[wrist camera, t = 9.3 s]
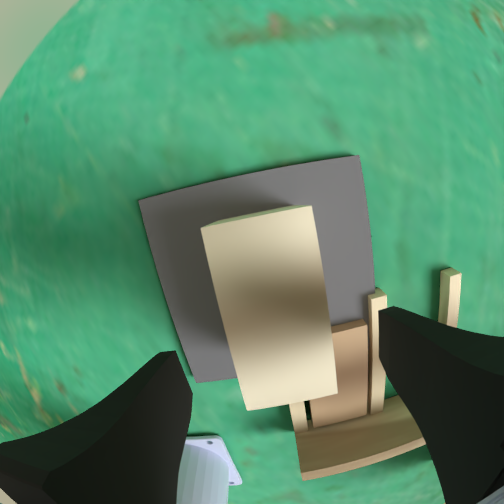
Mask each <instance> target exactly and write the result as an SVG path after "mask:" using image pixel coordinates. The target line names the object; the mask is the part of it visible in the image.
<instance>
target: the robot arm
mask: <svg viewBox="0 0 504 504" xmlns="http://www.w3.org/2000/svg"><path fill="white" fill-rule="evenodd" d="M378 322H379V359H380V361H381V364H382V366H383V368H384V370H385V373H386V375H387V377H388V379H389V380H390V382H391V384H392V385H393V387H394V388H395V390H396V392H397V393H398V395H399V396H400V398H401V399H402V401H403V402H404V404H405V406H406V407H407V409H408V410H409V412H410V413H411V415H412V417H413V418H414V420H415V422H416V423H417V425H418V427H419V429H420V431H421V433H422V436H423V438H424V440H425V443H426V445H427V447H428V450H429V452H430V455H431V458H432V460H433V463H434V466H435V468H436V471H437V474H438V478H439V481H440V484H441V487H442V491H443V495H444V499H445V503H446V504H504V337H497V336H490V335H484V334H479V333H474V332H470V331H466V330H462V329H459V328H455V327H452V326H449V325H446V324H443V323H440V322H437V321H434V320H431V319H429V318H426V317H423V316H421V315H418V314H415V313H413V312H410V311H407V310H405V309H402V308H398V307H395V306H392V307H389V308H385V309H382V310H378ZM192 396H193V393H192V390H191V388H190V386H189V383H188V381H187V378H186V376H185V374H184V371H183V369H182V366H181V363H180V361H179V358H178V356H177V353H176V351H167V352H160V353H158V354H157V355H155V356H154V357H153V358H152V359H151V360H149V361H148V362H147V363H146V364H145V365H144V366H143V367H141V368H140V369H139V370H138V371H137V372H136V373H135V374H133V375H132V376H131V377H130V378H129V379H128V380H127V381H125V382H124V383H123V384H122V385H121V386H119V387H118V388H117V389H116V390H114V391H113V392H112V393H111V394H109V395H108V396H107V397H105V398H104V399H103V400H101V401H100V402H99V403H97V404H96V405H94V406H93V407H91V408H89V409H88V410H86V411H85V412H83V413H81V414H80V415H78V416H76V417H74V418H72V419H70V420H68V421H66V422H64V423H62V424H60V425H58V426H56V427H54V428H51V429H49V430H46V431H44V432H41V433H38V434H35V435H32V436H29V437H25V438H21V439H17V440H13V441H8V442H3V443H1V444H0V488H1V489H2V490H3V491H4V492H5V493H6V494H7V495H8V496H9V497H10V498H11V499H13V500H14V501H15V502H16V503H17V504H228V487H229V485H240V484H242V479H241V477H240V475H239V473H238V471H237V469H236V467H235V465H234V463H233V461H232V458H231V456H230V454H229V452H228V450H227V448H226V446H225V444H224V442H223V439H222V438H221V437H220V436H217V435H213V436H197V437H187V432H188V428H189V423H190V419H191V411H192ZM0 504H2V503H0Z"/></svg>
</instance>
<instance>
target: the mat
mask: <svg viewBox="0 0 504 504" xmlns="http://www.w3.org/2000/svg"><path fill="white" fill-rule="evenodd" d="M138 201H139V205H140V209H141V214H142V218H143V221H144V225H145V229H146V233H147V237H148V240H149V244H150V248H151V251H152V255H153V258H154V262H155V265H156V269H157V272H158V275H159V279H160V282H161V285H162V288H163V292H164V295H165V298H166V301H167V304H168V307H169V310H170V313H171V316H172V319H173V322H174V325H175V328H176V330H177V333H178V336H179V339H180V342H181V344H182V347H183V350H184V353H185V355H186V358H187V361H188V363H189V366H190V368H191V371H192V373H193V376H194V379H195V381H196V383H201V382H210V381H218V380H226V379H233V378H238V377H237V374H236V370H235V366H234V363H233V359H232V355H231V352H230V348H229V344H228V340H227V336H226V333H225V329H224V325H223V321H222V317H221V313H220V309H219V305H218V301H217V297H216V293H215V289H214V285H213V281H212V276H211V272H210V268H209V264H208V259H207V255H206V251H205V246H204V242H203V237H202V233H201V228H202V227H204V226H206V225H209V224H211V223H213V222H216V221H218V220H223V219H228V218H232V217H237V216H242V215H247V214H252V213H256V212H261V211H266V210H271V209H276V208H282V207H287V206H292V205H312V210H313V216H314V221H315V226H316V232H317V238H318V243H319V249H320V255H321V261H322V268H323V274H324V281H325V287H326V294H327V301H328V309H329V316H330V324H331V326H336V325H340V324H344V323H348V322H352V321H356V320H360V319H363V320H364V321H365V322H366V324H367V335H368V350H370V343H369V310H368V295H371V294H375V279H374V265H373V253H372V242H371V232H370V224H369V215H368V207H367V200H366V193H365V186H364V180H363V174H362V168H361V162H360V157H359V155H356V156H348V157H341V158H334V159H328V160H321V161H315V162H309V163H303V164H297V165H291V166H286V167H280V168H275V169H270V170H265V171H259V172H254V173H249V174H245V175H240V176H235V177H231V178H226V179H221V180H217V181H213V182H208V183H204V184H200V185H196V186H191V187H187V188H183V189H179V190H175V191H171V192H168V193H164V194H160V195H156V196H153V197H149V198H145V199H142V200H138Z"/></svg>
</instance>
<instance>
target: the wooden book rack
mask: <svg viewBox="0 0 504 504" xmlns="http://www.w3.org/2000/svg"><path fill="white" fill-rule="evenodd" d="M460 288H461V273H460V272H459V271H457V270H455V269H453V268H452V267H451V268H448V269H445V270H442V271H441V275H440V301H439V316H438V322H440V323H443V324H446V325H449V326H452V327H455V328H457V321H458V312H459V301H460ZM385 308H387V295H386V294H385V293H384V292H383V291H382V290H381V289H380V288H376V289H375V294H371V295H368V310H369V343H370V350H368V335H367V324H366V322H365V321H364V320H363V319H360V320H356V321H352V322H348V323H344V324H340V325H336V326H331V332H332V341H333V349H334V359H335V368H336V379H337V390H338V393H337V394H333V395H329V396H325V397H321V398H316V399H312V400H309V406H310V414H311V419H310V420H307V419H306V412H305V405H304V401H302V402H297V403H292V404H289V406H290V411H291V416H292V421H293V426H294V431H295V437H296V443H297V450H298V456H299V463H300V469H301V475H302V480H303V481H305V480H310V479H315V478H320V477H325V476H329V475H333V474H338V473H342V472H346V471H349V470H353V469H357V468H360V467H364V466H367V465H370V464H373V463H377V462H380V461H383V460H386V459H389V458H391V457H394V456H397V455H400V454H402V453H405V452H408V451H410V450H413V449H415V448H418V447H420V446H422V445H425V444H426V443H425V440H424V438H423V436H422V433H421V431H420V429H419V427H418V425H417V423H416V422H415V420H414V418H413V417H412V415H411V413H410V412H409V410H408V409H407V407H406V406H405V404H404V402H403V401H402V399H401V398H400V396H399V395H397V396H394V397H391V398H388V399H385V400H384V392H385V378H386V373H385V370H384V368H383V366H382V364H381V361H380V359H379V322H378V310H382V309H385Z"/></svg>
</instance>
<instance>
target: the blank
mask: <svg viewBox="0 0 504 504" xmlns="http://www.w3.org/2000/svg"><path fill="white" fill-rule="evenodd" d="M201 233H202V237H203V242H204V246H205V251H206V255H207V259H208V264H209V268H210V272H211V276H212V281H213V285H214V289H215V293H216V297H217V301H218V305H219V309H220V313H221V317H222V321H223V325H224V329H225V333H226V336H227V340H228V344H229V348H230V352H231V355H232V359H233V363H234V366H235V370H236V374H237V377H238V381H239V384H240V388H241V391H242V395H243V398H244V402H245V405H246V409H247V411H249V410H256V409H263V408H269V407H275V406H281V405H287V404H292V403H297V402H302V401H307V400H312V399H316V398H321V397H325V396H329V395H333V394H337V393H338V390H337V379H336V368H335V359H334V349H333V341H332V332H331V324H330V316H329V309H328V301H327V294H326V287H325V281H324V274H323V268H322V261H321V255H320V249H319V243H318V238H317V232H316V226H315V221H314V216H313V210H312V205H292V206H287V207H282V208H276V209H271V210H266V211H261V212H256V213H252V214H247V215H242V216H237V217H232V218H228V219H223V220H218V221H216V222H213V223H211V224H209V225H206V226H204V227H202V228H201Z"/></svg>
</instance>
